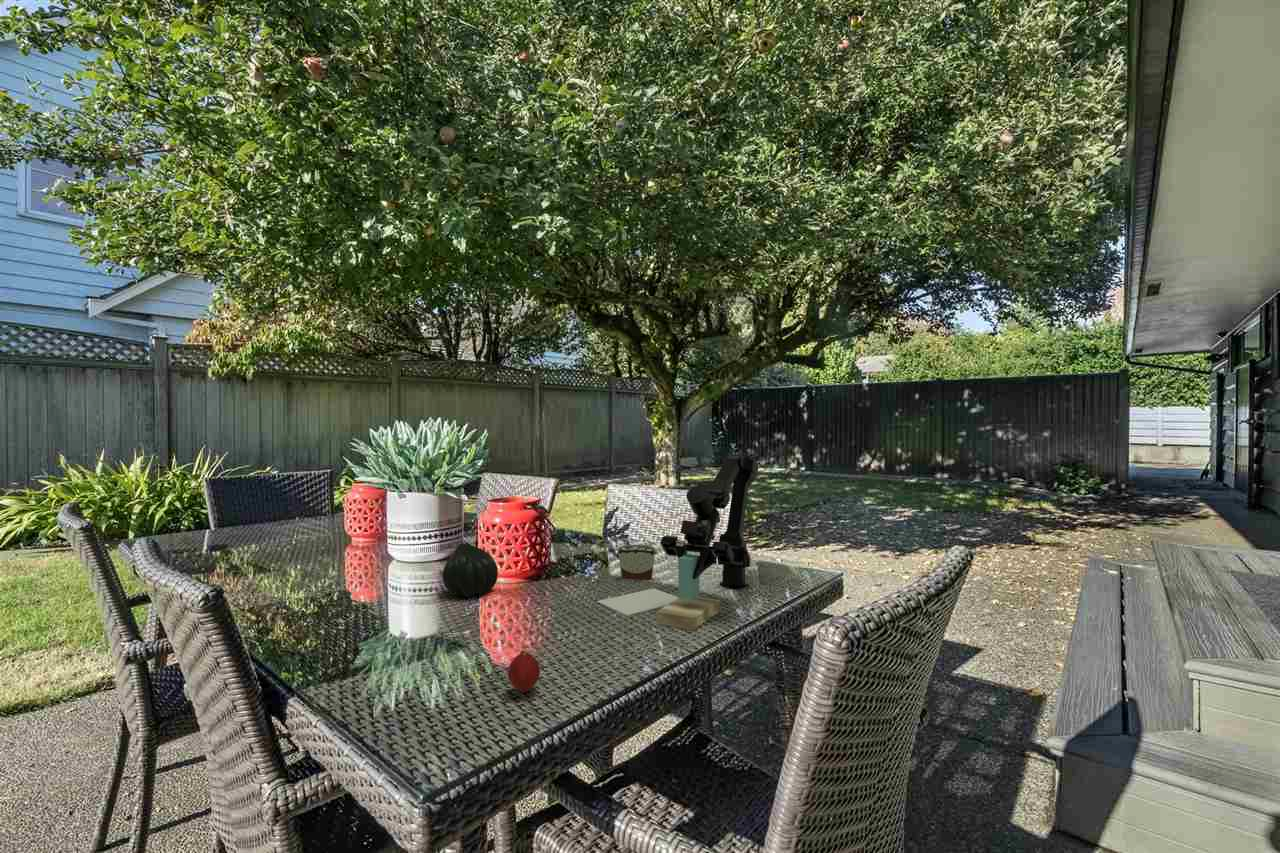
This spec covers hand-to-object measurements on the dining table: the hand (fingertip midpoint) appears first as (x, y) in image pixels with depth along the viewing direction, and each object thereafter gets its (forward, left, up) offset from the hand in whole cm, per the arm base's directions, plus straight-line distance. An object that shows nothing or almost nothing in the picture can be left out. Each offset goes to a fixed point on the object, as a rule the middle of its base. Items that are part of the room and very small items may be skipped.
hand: (686, 577), depth 152 cm
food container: (-13, -38, -11) cm, 41 cm away
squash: (+35, -54, -11) cm, 65 cm away
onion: (+51, +11, -11) cm, 53 cm away
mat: (+1, -18, -10) cm, 20 cm away
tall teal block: (-1, -1, -5) cm, 5 cm away
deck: (-1, -1, -10) cm, 11 cm away
